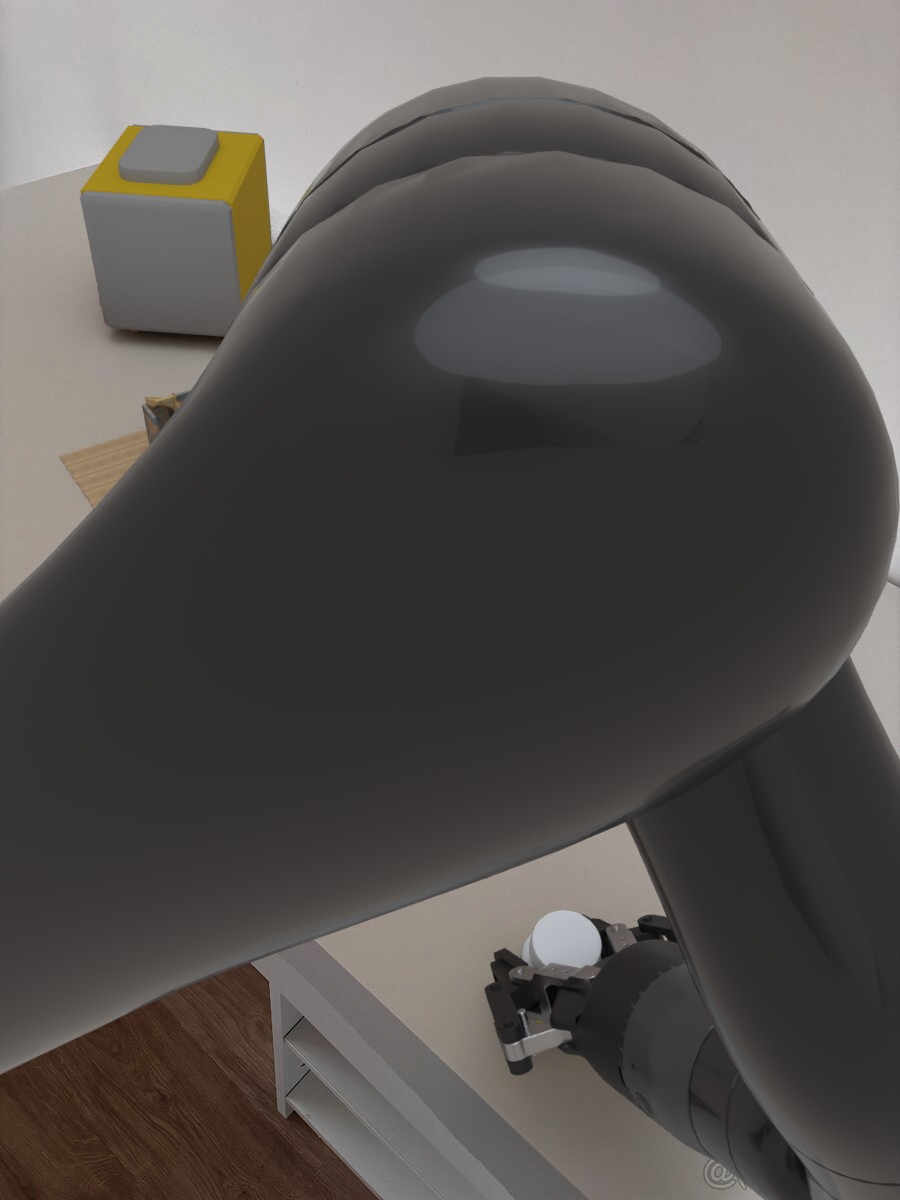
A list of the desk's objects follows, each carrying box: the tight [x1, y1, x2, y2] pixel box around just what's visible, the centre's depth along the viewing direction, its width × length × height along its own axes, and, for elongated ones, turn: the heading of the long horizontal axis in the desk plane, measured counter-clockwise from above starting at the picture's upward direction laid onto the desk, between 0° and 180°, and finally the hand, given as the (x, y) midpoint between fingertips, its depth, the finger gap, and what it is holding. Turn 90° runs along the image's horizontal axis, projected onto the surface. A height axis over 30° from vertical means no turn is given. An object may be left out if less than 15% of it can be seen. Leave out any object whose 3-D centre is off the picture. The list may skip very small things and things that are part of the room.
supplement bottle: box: [519, 909, 602, 1023], centre depth 63 cm, size 5×5×8 cm
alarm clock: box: [79, 123, 273, 338], centre depth 117 cm, size 20×16×18 cm
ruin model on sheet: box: [58, 389, 191, 509], centre depth 100 cm, size 25×16×10 cm, turn 124°
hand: (541, 948), depth 64 cm, fingers closed on supplement bottle, 4 cm apart
